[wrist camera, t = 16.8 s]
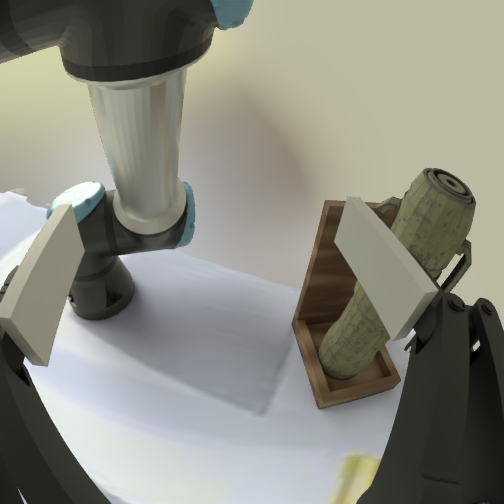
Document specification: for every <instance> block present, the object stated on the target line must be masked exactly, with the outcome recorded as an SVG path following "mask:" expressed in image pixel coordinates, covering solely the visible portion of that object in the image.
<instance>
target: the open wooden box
mask: <svg viewBox="0 0 504 504" xmlns="http://www.w3.org/2000/svg"><path fill="white" fill-rule="evenodd" d="M345 203H346V201H330V200H325V203H324V207H323V211H322V215H321V220H320V223H319V227H318V232H317V235H316V239H315V243H314V247H313V251H312V255H311V259H310V262H309V266H308V269H307V273H306V277H305V280H304V284H303V287H302V291H301V294H300V298H299V301H298V305H297V308H296V311H295V315H294V318H293V321H292V326H293V330H294V333H295V336H296V339H297V342H298V345H299V349H300V352H301V355H302V358H303V361H304V365H305V368H306V371H307V374H308V377H309V381H310V384H311V387H312V390H313V394H314V397H315V400H316V404H317V407H318V409H322V408H326V407H330V406H334V405H339V404H342V403H346V402H350V401H354V400H357V399H361V398H364V397H368V396H371V395H374V394H377V393H380V392H384V391H387V390H390V389H393V388H394V387H395V386H396V385H397V384H398V383H399V382H400V381H401V379H400V376H399V374H398V372H397V370H396V368H395V366H394V364H393V362H392V360H391V358H390V355H389V353H388V351H387V349H386V347H385V345H383V346H382V347H381V348H380V349H379V350H378V351H377V352H376V354H375V357H374V359H373V361H372V362H371V363H370V364H369V365H368V366H367V367H366V368H365V369H364V370H363V371H361V372H360V373H358V374H357V375H356V376H355V377H353V378H351V379H349V380H343V381H340V380H334V379H332V378H330V377H328V376H327V375H326V374H324V373H323V370H322V367H321V364H320V361H319V358H318V356H317V351H318V349H319V347H320V345H321V343H322V341H323V339H324V337H325V335H326V334H327V332H328V330H329V329H330V328H331V326H332V325H333V324H334V323H335V322H336V321H337V320H339V319H340V317H341V315H342V314H343V312H344V310H345V309H346V307H347V305H348V303H349V302H350V300H351V298H352V296H353V295H354V287H355V285H356V282H357V280H358V279H357V277H356V276H355V274H354V272H353V271H352V269H351V267H350V266H349V264H348V263H347V261H346V259H345V258H344V256H343V255H342V253H341V251H340V250H339V248H338V247H337V245H336V244H335V242H334V240H335V237H336V234H337V230H338V227H339V224H340V220H341V217H342V213H343V210H344V206H345ZM365 203H366V204H367V205H368V206H369V207H370V208H371V209H372V211H373V212H374V211H375V208H376V206H377V205H378V204H379V203H370V202H365ZM394 217H395V212H394V211H392V210H389V211H387V212H386V213H384V215H383V218H382V221H383V223H384V224H385V225H386V226H387V227H388V228H389V229H390V226H391V224H392V222H393V219H394Z"/></svg>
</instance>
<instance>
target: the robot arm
mask: <svg viewBox="0 0 504 504" xmlns="http://www.w3.org/2000/svg"><path fill="white" fill-rule="evenodd" d="M252 4H253V0H0V64H1V63H3V62H7V61H10V60H13V59H16V58H19V57H22V56H24V55H27V54H30V53H33V52H36V51H39V50H42V49H46V48H49V47H52V46H56V45H57V46H58V47H59V48H60V52H61V57H62V61H63V65H64V68H65V71H66V72H67V74H68V75H69V76H70V77H72V78H73V79H75V80H77V81H80V82H83V83H87V85H88V89H89V94H90V97H91V102H92V106H93V110H94V115H95V119H96V122H97V126H98V130H99V134H100V137H101V141H102V144H103V148H104V151H105V154H106V157H107V161H108V164H109V167H110V170H111V173H112V176H113V179H114V182H115V185H116V190H111V191H105V188H104V186H103V185H102V184H101V183H100V182H94V181H91V182H85V183H82V184H79V185H77V186H74V187H72V188H70V189H68V190H66V191H64V192H63V193H62V194H60V195H59V196H58V197H56V198H55V199H54V200H53V201H52V203H51V204H50V206H49V208H48V210H47V222H46V223H45V225H44V226H43V228H42V229H41V231H40V232H39V234H38V235H37V237H36V238H35V240H34V242H33V243H32V245H31V247H30V248H29V250H28V252H27V253H26V255H25V257H24V258H23V260H22V262H21V264H20V266H16V267H15V268H14V269H13V270H12V271H11V272H10V273H9V275H8V277H7V279H6V280H5V282H4V286H2V288H1V290H0V504H24V502H23V500H22V498H21V495H20V493H19V490H20V492H21V494H22V496H23V497H24V499H25V500H26V502H27V504H111V503H110V501H109V500H108V499H107V498H106V497H105V496H104V495H103V493H102V492H101V491H100V490H99V489H98V487H97V486H96V485H95V484H94V482H93V481H92V480H91V479H90V477H89V476H88V475H87V473H86V472H85V471H84V469H83V468H82V467H81V465H80V464H79V462H78V461H77V459H76V458H75V457H74V455H73V454H72V452H71V451H70V449H69V448H68V446H67V445H66V443H65V441H64V440H63V438H62V437H61V435H60V433H59V432H58V430H57V428H56V426H55V425H54V423H53V421H52V419H51V418H50V416H49V414H48V412H47V410H46V408H45V406H44V404H43V403H42V401H41V399H40V396H39V394H38V392H37V390H36V388H35V386H34V384H33V382H32V379H31V377H30V375H29V372H28V370H27V368H26V367H25V365H24V364H23V361H24V358H25V357H26V358H27V359H28V360H29V361H30V362H31V364H32V365H38V366H46V367H48V363H49V359H50V355H51V351H52V347H53V343H54V339H55V335H56V332H57V328H58V325H59V321H60V318H61V315H62V312H63V309H64V305H65V302H66V299H67V297H68V300H69V302H70V304H71V306H72V308H73V310H74V311H75V313H76V314H78V315H79V316H81V317H83V318H86V319H90V320H100V319H105V318H108V317H111V316H113V315H115V314H117V313H119V312H120V311H121V310H123V309H124V308H125V307H126V306H127V305H128V303H129V302H130V300H131V299H132V296H133V293H134V284H133V280H132V277H131V274H130V272H129V271H128V269H127V268H126V267H125V265H124V264H123V262H122V261H121V260H120V258H119V257H118V255H125V254H133V253H140V252H148V251H156V250H163V249H176V248H177V247H182V246H186V245H188V244H189V243H190V242H191V240H192V238H193V234H194V222H195V203H194V196H193V192H192V189H191V186H190V185H189V184H188V183H187V182H182V181H181V180H180V179H179V178H178V177H177V175H178V158H179V143H180V130H181V119H182V108H183V99H184V90H185V81H186V74H187V67H189V66H191V65H192V64H194V63H196V62H197V61H199V60H200V59H201V58H202V57H203V56H204V55H205V54H206V53H207V51H208V50H209V48H210V45H211V41H212V36H213V32H214V29H215V28H216V27H218V28H219V29H220V30H227V29H228V28H235V27H238V26H240V25H241V24H243V22H244V19H245V18H246V17H247V16H248V14H249V12H250V10H251V7H252ZM334 242H335V244H336V245H337V247H338V248H339V250H340V251H341V253H342V255H343V256H344V258H345V259H346V261H347V263H348V264H349V266H350V267H351V269H352V271H353V272H354V274H355V276H356V277H357V279H358V281H359V282H360V284H361V286H362V287H363V289H364V291H365V292H366V294H367V296H368V298H369V299H370V301H371V303H372V304H373V306H374V308H375V310H376V311H377V313H378V315H379V317H380V319H381V320H382V322H383V324H384V326H385V328H386V330H387V331H388V333H389V335H390V337H391V339H392V341H394V340H398V339H401V338H405V337H406V336H407V335H408V334H409V333H410V331H411V330H412V329H413V328H414V330H415V332H416V334H415V335H414V337H413V338H412V339H411V341H410V342H409V343H408V344H407V345H406V347H405V349H404V350H405V351H407V349H408V348H409V347H410V346H411V350H410V351H409V352H410V357H409V363H408V368H407V373H406V377H405V382H404V386H403V391H402V395H401V399H400V403H399V406H398V410H397V414H396V417H395V421H394V424H393V427H392V431H391V434H390V437H389V440H388V443H387V446H386V449H385V452H384V454H383V457H382V460H381V462H380V465H379V468H378V470H377V473H376V475H375V477H374V480H373V482H372V484H371V486H370V487H369V489H368V490H367V491H365V492H364V493H363V494H362V495H361V497H360V498H359V499H358V501H357V503H356V504H504V331H503V328H502V325H501V322H500V319H499V316H498V314H497V311H496V309H495V307H494V306H493V304H492V303H491V302H490V301H489V300H487V299H485V298H479V299H478V300H477V301H476V303H475V304H474V305H473V306H469V305H465V303H464V302H463V300H462V299H461V298H460V297H458V296H457V295H455V294H452V293H444V291H443V290H442V289H441V287H440V286H439V285H438V283H437V282H436V281H435V279H434V278H433V277H432V275H431V274H430V273H429V271H427V269H426V268H425V266H424V265H422V263H421V261H420V260H419V259H418V258H417V256H416V255H414V254H413V253H412V252H411V251H409V250H408V249H407V248H405V247H404V246H403V244H402V243H401V242H400V241H399V240H398V239H397V237H396V236H395V235H394V234H393V233H392V232H391V230H390V229H389V228H388V227H387V226H386V225H385V224H384V223H383V221H382V220H381V219H380V218H379V217H378V216H377V215H376V214H375V213H374V212H373V211H372V209H371V208H370V207H369V206H368V205H367V204H366V203H365V202H364V201H363V200H362V199H361V198H360V197H347V200H346V203H345V206H344V210H343V213H342V217H341V220H340V224H339V227H338V230H337V234H336V237H335V240H334ZM478 340H479V341H480V346H479V348H478V349H477V350H476V351H474V350H473V346H474V345H475V343H476V342H477V341H478ZM17 487H18V488H17ZM18 489H19V490H18Z"/></svg>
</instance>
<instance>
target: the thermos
mask: <svg viewBox="0 0 504 504" xmlns="http://www.w3.org/2000/svg"><path fill="white" fill-rule="evenodd" d="M475 206H476V201H475V198H474V196H473V195H472V192H471V191H470V189H469V188H468V187H467V186H466V185H465V184H464V183H463V182H462V181H461V180H460V179H458V178H457V177H455V176H454V175H452V174H450V173H448V172H446V171H444V170H441V169H437V168H433V169H432V168H426V169H424V170H423V171H422V172H421V173H420V174H419V176H418V177H417V178H416V179H415V180H414V181H413V182H412V184H411V187H410V189H409V190H408V191H407V192H406V193H405V195H404V197H403V198H402V199H399V198H396V197H391V198H389V199H387V200H385V201H383V202H381V203H379V204H378V205H377V206H376V208H375V211H374V213H375V214H376V215H377V216H378V217H379V218H380V219H381V220H382V218H383V215H384V213H386V212H387V211H389V210H392V211H394V212H395V217H394V219H393V222H392V224H391V226H390V230H391V232H392V233H393V234H394V235H395V236H396V237H397V239H398V240H399V241H400V242H401V243H402V244H403V246H404V247H405V248H407V249H408V250H409V251H411V252H412V253H413V254H414V255H416V256H417V258H418V259H419V260H420V261H421V263H422V265H424V266H425V268H426V269H427V271H429V273H430V274H431V275H432V277H433V278H434V279H435V281H437V279H438V278H439V276H440V274H441V273H442V270H443V269H445V268H446V267H447V265H448V264H449V262H450V261H451V260H452V258H453V256H454V255H455V254H458V255H461V254H462V253H464V255H463V257H462V258H461V259H460V261H459V262H458V264H457V265H456V267H455V268H454V269H453V271H452V272H451V274H450V275H449V277H448V278H447V279H446V280H445V282H444V283H443V284H442V285H441V289H442V290H443V291H444V293H450V291H451V290H452V289H453V287H455V285H456V284H457V283H458V282H459V280H460V279H461V278H462V276H463V275H464V274H465V272H466V271H467V269H468V268H469V267H470V266H471V242H469V241H468V240H466V236H467V235H468V233H469V231H470V228H471V224H472V221H473V216H474V211H475ZM390 338H391V337H390V335H389V333H388V331H387V330H386V328H385V326H384V324H383V322H382V320H381V319H380V317H379V315H378V313H377V311H376V310H375V308H374V306H373V304H372V303H371V301H370V299H369V298H368V296H367V294H366V292H365V291H364V289H363V287H362V286H361V284H360V282H359V281H358V280H357V282H356V285H355V287H354V295H353V296H352V298H351V300H350V302H349V303H348V305H347V307H346V309H345V310H344V312H343V314H342V315H341V317H340V319H339V320H337V321H336V322H335V323H334V324H333V325H332V326H331V328H330V329H329V330H328V332H327V334H326V335H325V337H324V339H323V341H322V343H321V345H320V347H319V349H318V351H317V356H318V358H319V361H320V364H321V367H322V370H323V373H324V374H326V375H327V376H328V377H330V378H332V379H334V380H340V381H343V380H349V379H351V378H353V377H355V376H356V375H357V374H358V373H360V372H361V371H363V370H364V369H365V368H366V367H367V366H368V365H369V364H370V363H371V362H372V361H373V359H374V357H375V354H376V352H377V351H378V350H379V349H380V348H381V347H382V346H383V345H384V344H385V343H386V342H387V341H388V340H389V339H390Z"/></svg>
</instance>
